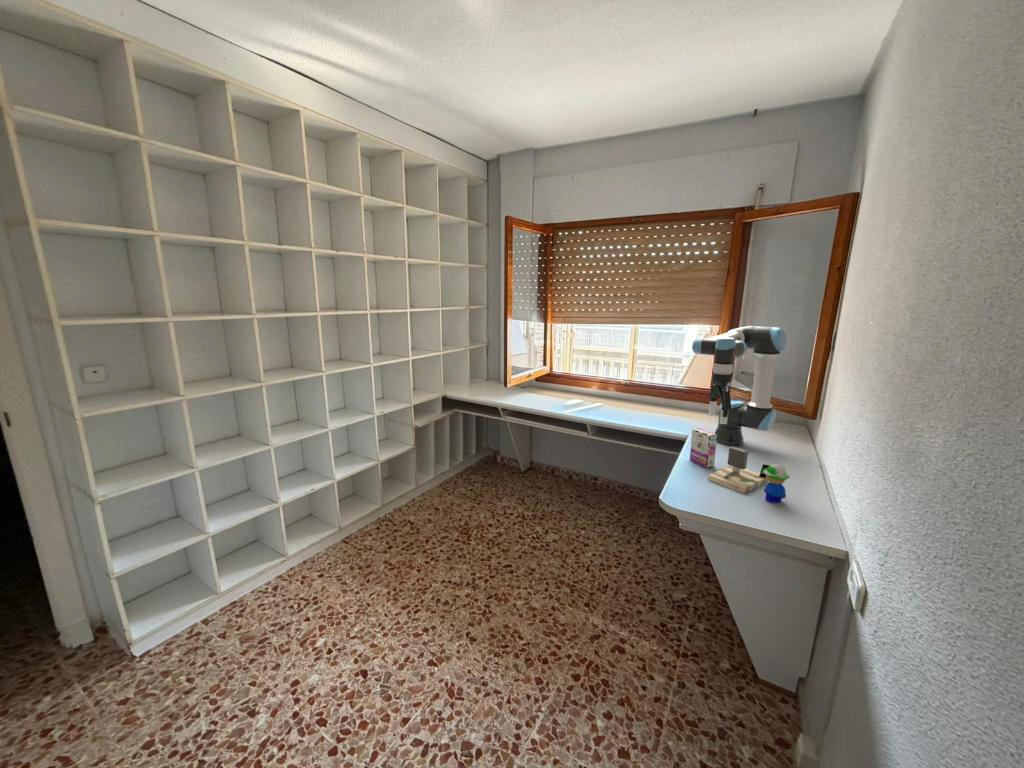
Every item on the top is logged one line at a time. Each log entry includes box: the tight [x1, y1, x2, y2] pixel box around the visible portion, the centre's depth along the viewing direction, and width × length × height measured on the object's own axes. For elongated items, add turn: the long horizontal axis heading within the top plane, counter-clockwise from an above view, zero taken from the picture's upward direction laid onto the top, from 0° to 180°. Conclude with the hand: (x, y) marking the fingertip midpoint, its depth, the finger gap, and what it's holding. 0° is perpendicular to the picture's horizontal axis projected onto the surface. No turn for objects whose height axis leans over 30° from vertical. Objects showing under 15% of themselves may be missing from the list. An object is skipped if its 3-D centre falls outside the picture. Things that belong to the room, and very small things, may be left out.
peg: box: [724, 446, 749, 477], centre depth 181 cm, size 11×7×11 cm, turn 125°
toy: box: [759, 463, 790, 504], centre depth 164 cm, size 9×9×15 cm
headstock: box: [707, 465, 769, 494], centre depth 182 cm, size 20×16×3 cm
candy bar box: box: [689, 427, 717, 469], centre depth 199 cm, size 11×5×16 cm, turn 21°
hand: (717, 419), depth 185 cm, fingers open, 13 cm apart
